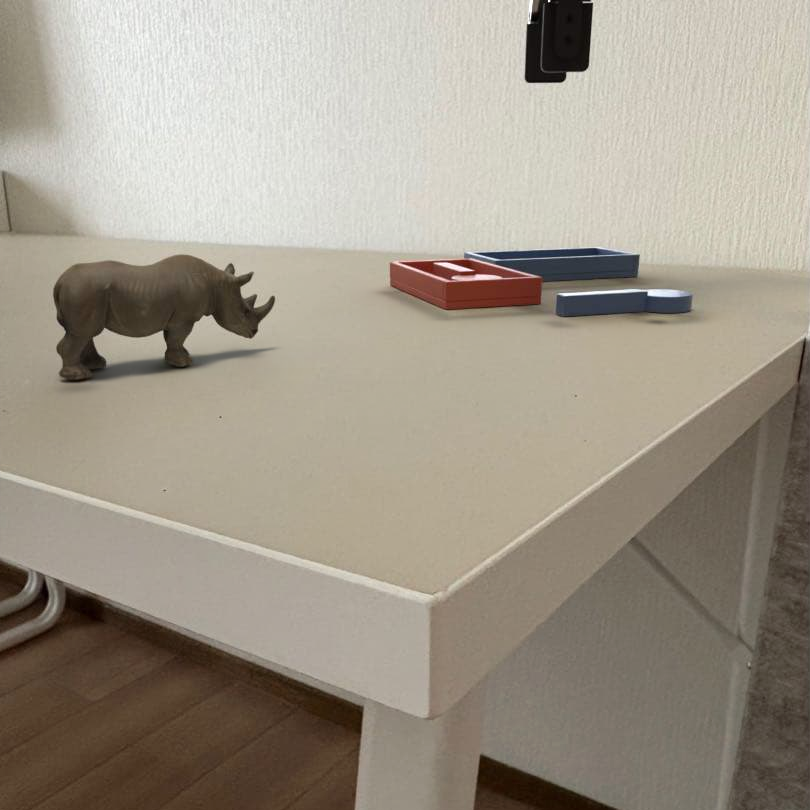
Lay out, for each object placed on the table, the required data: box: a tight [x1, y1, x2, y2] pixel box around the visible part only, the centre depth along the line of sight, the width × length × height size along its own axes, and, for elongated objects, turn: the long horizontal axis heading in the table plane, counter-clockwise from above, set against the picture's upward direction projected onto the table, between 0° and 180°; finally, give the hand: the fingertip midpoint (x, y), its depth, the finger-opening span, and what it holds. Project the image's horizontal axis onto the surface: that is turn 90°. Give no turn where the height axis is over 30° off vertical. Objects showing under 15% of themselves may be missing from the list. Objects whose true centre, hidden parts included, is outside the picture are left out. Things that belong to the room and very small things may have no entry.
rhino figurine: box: [52, 253, 276, 381], centre depth 51 cm, size 4×14×6 cm, turn 126°
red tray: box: [389, 258, 543, 310], centre depth 76 cm, size 15×8×2 cm, turn 18°
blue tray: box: [463, 246, 641, 283], centre depth 87 cm, size 15×8×2 cm, turn 108°
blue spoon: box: [555, 288, 694, 318], centre depth 67 cm, size 11×4×2 cm, turn 108°
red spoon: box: [433, 262, 502, 281], centre depth 76 cm, size 11×4×2 cm, turn 18°
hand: (554, 77), depth 64 cm, fingers open, 9 cm apart
